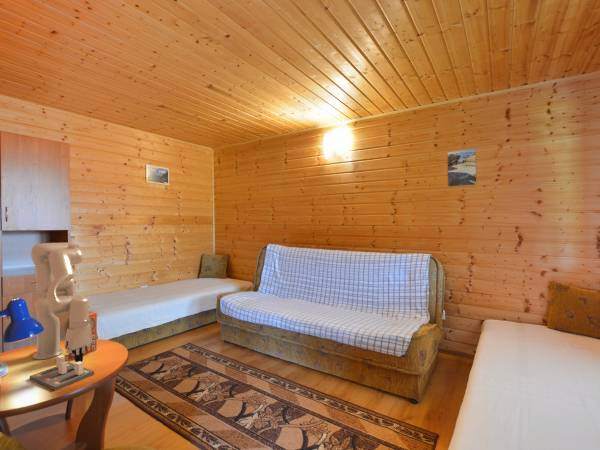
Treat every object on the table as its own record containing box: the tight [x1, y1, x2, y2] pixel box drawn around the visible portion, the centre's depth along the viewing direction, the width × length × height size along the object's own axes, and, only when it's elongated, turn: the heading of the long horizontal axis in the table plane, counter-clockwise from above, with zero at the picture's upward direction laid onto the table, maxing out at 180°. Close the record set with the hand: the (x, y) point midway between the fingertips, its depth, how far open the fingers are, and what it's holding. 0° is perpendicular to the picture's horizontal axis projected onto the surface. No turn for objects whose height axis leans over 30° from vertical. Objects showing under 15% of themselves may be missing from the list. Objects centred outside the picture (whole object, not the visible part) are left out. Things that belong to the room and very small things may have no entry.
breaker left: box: [56, 354, 66, 367], centre depth 150 cm, size 3×2×5 cm, turn 64°
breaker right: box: [74, 361, 84, 375], centre depth 143 cm, size 3×2×5 cm, turn 64°
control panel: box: [68, 310, 98, 360], centre depth 169 cm, size 21×7×15 cm
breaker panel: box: [29, 361, 95, 391], centre depth 144 cm, size 21×16×2 cm
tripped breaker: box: [58, 360, 68, 374], centre depth 144 cm, size 3×2×5 cm, turn 64°
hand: (78, 361), depth 150 cm, fingers closed
